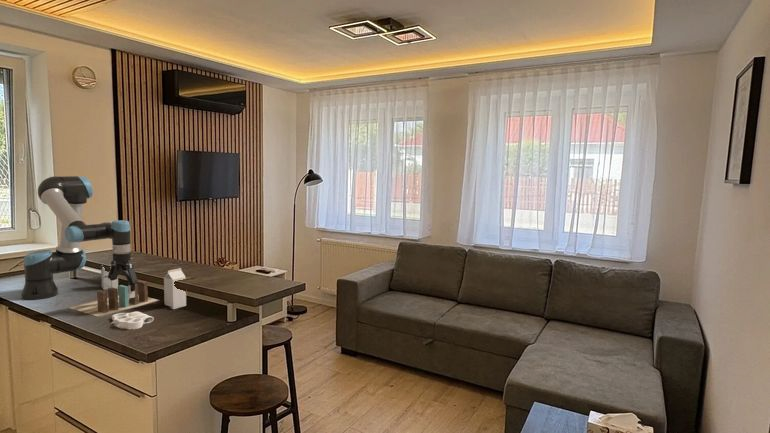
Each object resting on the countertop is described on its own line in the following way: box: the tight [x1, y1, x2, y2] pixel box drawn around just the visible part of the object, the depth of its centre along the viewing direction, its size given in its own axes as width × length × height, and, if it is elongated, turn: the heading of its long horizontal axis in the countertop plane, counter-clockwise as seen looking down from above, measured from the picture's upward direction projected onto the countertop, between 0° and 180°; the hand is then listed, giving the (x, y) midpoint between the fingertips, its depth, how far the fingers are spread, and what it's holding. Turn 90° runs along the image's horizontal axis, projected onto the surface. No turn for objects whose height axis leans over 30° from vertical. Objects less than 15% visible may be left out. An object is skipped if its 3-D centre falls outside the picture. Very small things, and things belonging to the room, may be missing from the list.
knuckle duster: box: [109, 310, 155, 331], centre depth 196 cm, size 3×18×15 cm
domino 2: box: [107, 287, 119, 310], centre depth 210 cm, size 2×5×10 cm, turn 62°
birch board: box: [67, 293, 160, 318], centre depth 218 cm, size 26×30×1 cm
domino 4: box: [127, 282, 139, 305], centre depth 219 cm, size 2×5×10 cm, turn 62°
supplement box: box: [100, 267, 119, 291], centre depth 250 cm, size 7×7×13 cm
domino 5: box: [137, 280, 149, 302], centre depth 223 cm, size 2×5×10 cm, turn 62°
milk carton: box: [163, 267, 187, 310], centre depth 219 cm, size 7×7×19 cm
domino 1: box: [96, 289, 108, 313], centre depth 206 cm, size 2×5×10 cm, turn 62°
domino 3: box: [118, 284, 129, 307], centre depth 214 cm, size 2×5×10 cm, turn 62°
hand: (123, 295), depth 214 cm, fingers open, 13 cm apart
